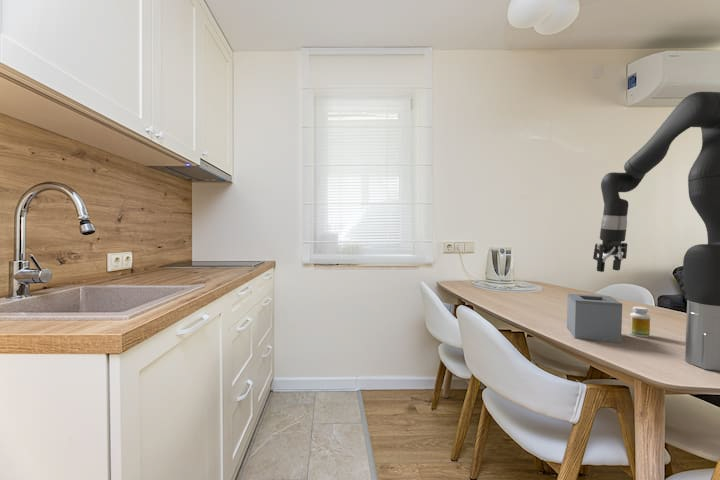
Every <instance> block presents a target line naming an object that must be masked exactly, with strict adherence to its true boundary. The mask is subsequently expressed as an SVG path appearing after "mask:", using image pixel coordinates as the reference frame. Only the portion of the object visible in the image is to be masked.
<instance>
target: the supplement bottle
mask: <svg viewBox="0 0 720 480" xmlns="http://www.w3.org/2000/svg"><path fill="white" fill-rule="evenodd" d="M632 311H633V312H631V313H630V315H629V334H630V335H632V336H635V337H637V338H638V337H639V338H649V337H650V329H651V328H650V327H651V315H649V314H648V311H649V310H648V308H647V307H644V306H633V307H632Z"/></svg>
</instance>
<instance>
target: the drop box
mask: <svg viewBox="0 0 720 480" xmlns="http://www.w3.org/2000/svg"><path fill="white" fill-rule="evenodd" d="M566 303H567V306H566V307H567V309H566V311H567V313H566V328H567V330H568V331H569V332H570V334H571V335H572V337H573V338H574V339H580V340H591V341H598V342H599V341H600V342H608V343H619V344H622V331H623V330H622V329H623V327H622V326H623V322H622V321H623V303H622V302H620V300H619V301H618V300H617V299H615V298H614V297H611V296H609V295H599V294H598V295H595V294H583V293H582V294H579V293H567V302H566Z"/></svg>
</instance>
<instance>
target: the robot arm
mask: <svg viewBox="0 0 720 480" xmlns="http://www.w3.org/2000/svg"><path fill="white" fill-rule="evenodd" d="M690 128H700V129H701V142H702V143H701V149H700V152H699V154H698V156H697V157H696V159H695V160H694V162H693V164H692V166H691V168H690V169H689V172H688V176H687V185H688V187H687V190H688V197H689V201H690V202H691V205H692V206H693V208H694V210H695V211H696V213H697V214H698V216H699V217H700V219H701V220H702V221H703V223H704V225H705V229H706V234H707V235H706V236H707V243H702V244H696V245H693V246H691V247H689V248H688V249H687V251H686V252H685V253H684V256H683V263H682V269H683V272H682V273H683V274H682V275H683V289H684V290H685V293H686V296H687V300H686V301H687V303H686V324H685V325H686V326H685V327H686V329H685V350H684V351H685V352H684V353H685V354H684V355H685V356H684V360H685V362H686V363H688V364H691V365H693V366H696V367H699V368H702V369H703V370H710V371H717V372H720V92H719V91H697V92H693V93H691V94H688V95H687V96H686V97H685V98H683V99H682V100H681V101H680V102H679V103H678V104H677V106H675V108H674V109H673V110H672V112H671V113H670V114H669V115H668V116H667V118H666V119H665V120H664V122H662V124H661V125H660V127H659V128H657V130H656V131H655V133H654V134H653V135H652V136H651V137H650V139H648V140H647V142H646V143H645V144H644V145H643V146H642V147H641V148H640V149H639V150H638V151H636V152H635V153H634V154H633V155H632V156H631V157H630V158H629V159H628V160H627V161H626V162H625V163H624V165H623V170H624V171H625V172H616V171H615V172H608V173H606V174H605V175H604V176H603V177H602V179H601V182H600V189H601V194H602V200H603V203H604V205H603V213H602V219H601V223H600V231H599V240H601V241H602V243H601V244H600V243H595V244H594V252H593V256H592V259H593V260H594V261H596V271H597V272H600V273H602V272H603V273H604V272H605V265H606V260H607V259H608V258H610V257H611V256H612V257H613V259H614V260H612V270H614V271H620V270H621V265H622V261H623V260H624V259H627V256H628V255H627V254H628V253H627V252H628V242H625V241H626V235H627V228H628V212H629V202H628V200H626V199H623V198H621V196H620V194H619V193H629V192H631V191H633V190H635V189H636V188H637V187H638V186H639V184H640V183H641V182H642V180H643V179H644V177H645V176H646V174H648V173H650V171H651V170H652V169H654V168H655V167H656V166H658V165H659V164H660V163H661V162H662V161H663V159H664V158H665V157H666V156H667V154H668V151H669V150H670V146H671V145H672V143H673V142H674V140H676V138H678V136H681V134H682V133H684V132H686V131H687V130H688V129H690Z"/></svg>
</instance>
